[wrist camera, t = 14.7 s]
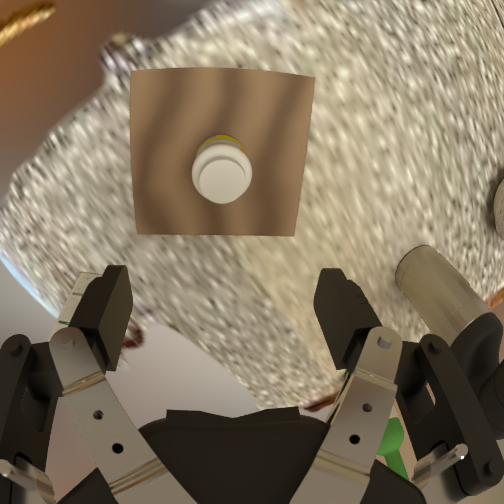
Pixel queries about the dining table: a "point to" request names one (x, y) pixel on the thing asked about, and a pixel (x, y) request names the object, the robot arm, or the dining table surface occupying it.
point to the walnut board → (212, 123)
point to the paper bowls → (499, 209)
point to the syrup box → (73, 301)
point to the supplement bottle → (221, 169)
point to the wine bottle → (393, 444)
